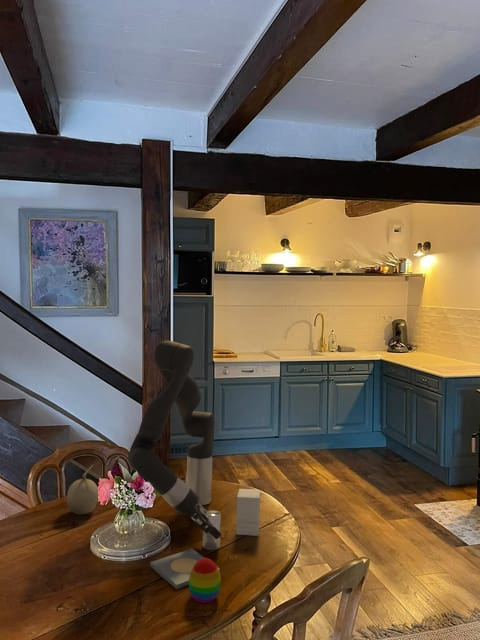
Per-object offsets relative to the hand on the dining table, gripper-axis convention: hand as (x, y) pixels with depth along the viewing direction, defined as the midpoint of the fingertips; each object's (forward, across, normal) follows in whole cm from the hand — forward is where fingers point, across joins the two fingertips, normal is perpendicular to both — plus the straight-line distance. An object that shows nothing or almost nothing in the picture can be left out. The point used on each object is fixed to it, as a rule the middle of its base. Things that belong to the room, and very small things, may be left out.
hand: (217, 532), depth 164 cm
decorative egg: (-2, -26, +8) cm, 28 cm away
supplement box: (+11, +9, -5) cm, 15 cm away
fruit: (-27, +29, +33) cm, 51 cm away
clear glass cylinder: (+2, 0, +4) cm, 5 cm away
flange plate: (-5, -13, +11) cm, 17 cm away
